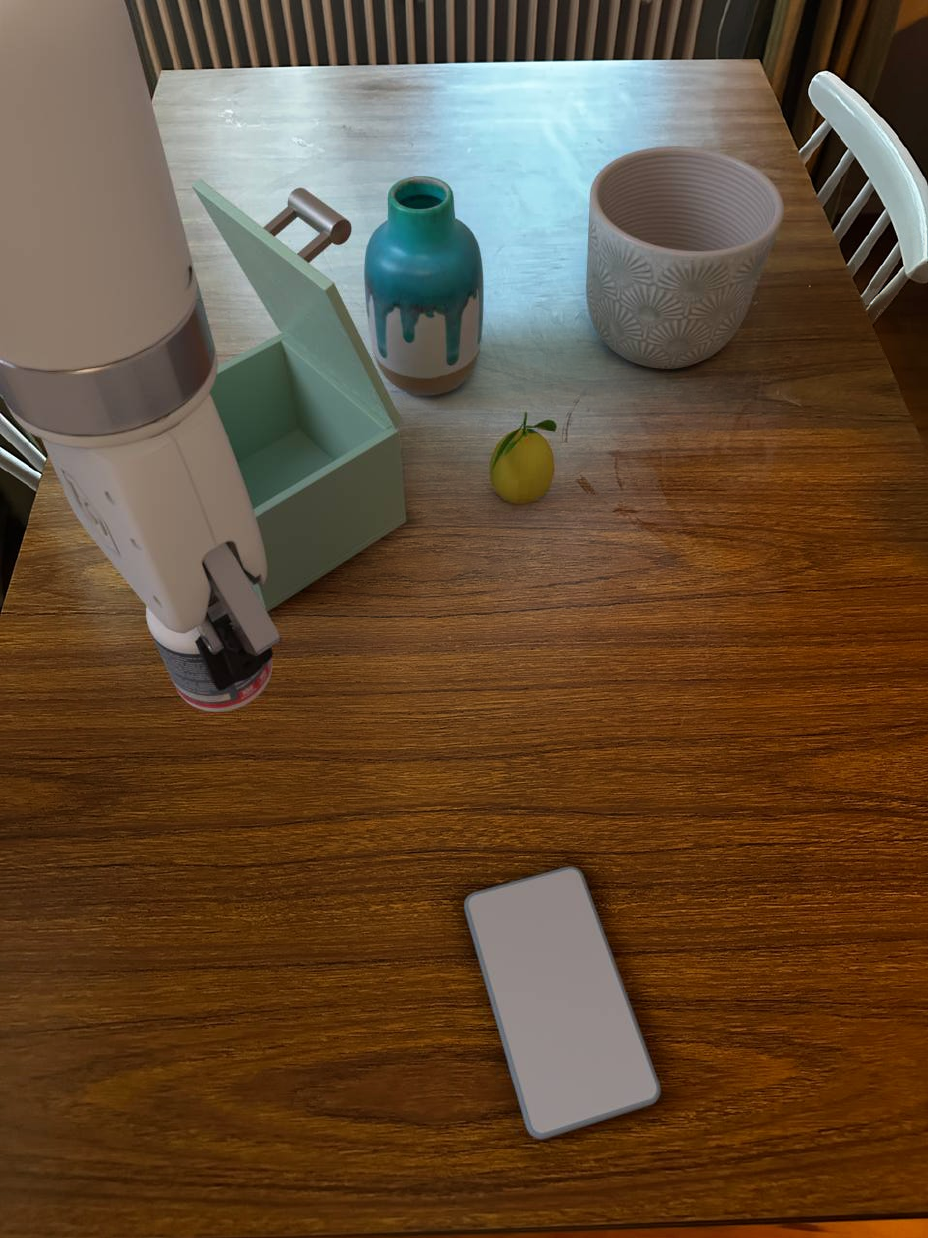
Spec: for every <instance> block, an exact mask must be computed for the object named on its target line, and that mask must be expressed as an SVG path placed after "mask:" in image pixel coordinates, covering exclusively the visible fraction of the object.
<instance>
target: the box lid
mask: <svg viewBox="0 0 928 1238" xmlns="http://www.w3.org/2000/svg"><path fill="white" fill-rule="evenodd" d="M191 187H192V189H193V190H194V192H195V194H196V196H197V197H198V199H199V200H200V202H201V204H202V206H203V208H204V209H205V211H206V212H207V214H208V216H209V217H210V219H211V220H212V222H213V224H214V225H215V227H216V229H217V230H218V232H219V233H220V235H221V237H222V238H223V240H224V242H225V244H226V245H227V247H228V249H229V250H230V252H231V254H232V256H233V257H234V258H235V261H236V262H237V263H238V265H239V267H240V269H241V270H242V272H243V273H244V275H245V276H246V278H247V280H248V282H249V283H250V285H251V287H252V288H253V290H254V292H255V293H256V295H257V296H258V298H259V300H260V301H261V303H262V305H263V306H264V308H265V310H266V311H267V313H268V314H269V315H268V316H270V318H271V320H272V321H273V323H274V325H275V326H276V328H277V329H278V331H279V332H280V333H283V334H284V335H285V336H286V337H287V338H289V339H290V340H291V341H292V342H293V343H295V344H296V345H297V346H298V347H299V348H300V349H302V350H303V351H304V352H305V353H306V354H308V355H309V356H310V357H311V358H312V359H313V360H315V361H316V362H317V363H318V364H319V365H321V366H322V367H323V368H324V369H325V370H326V371H328V372H329V373H330V374H331V375H332V376H334V377H335V378H336V379H337V380H338V381H339V382H341V383H342V384H343V385H344V386H345V387H347V388H348V389H349V390H350V391H351V392H352V393H354V394H355V395H356V396H357V397H358V398H359V399H361V400H362V401H363V402H364V403H365V404H367V405H368V406H369V407H370V408H371V409H372V410H374V411H375V412H376V413H377V414H378V415H380V416H381V417H382V418H383V419H384V420H385V421H387V422H388V423H389V424H390V425H391V426H393V427H394V428H395V429H396V428H397V429H398V428H399V427H400V426H401V425H402V424H403V420H402V418H401V416H400V414H399V412H398V410H397V407H396V406H395V404H394V402H393V399H392V398H391V396H390V394H389V392H388V390H387V387H386V386H385V384H384V382H383V380H382V377H381V376H380V374H379V371H378V369H377V368H376V365H375V363H374V362H373V359H372V357H371V355H370V353H369V351H368V349H367V347H366V345H365V343H364V341H363V339H362V336H361V335H360V333H359V331H358V328H357V327H356V324H355V322H354V320H353V318H352V316H351V315H350V313H349V311H348V308H347V307H346V305H345V303H344V299H343V298H342V296H341V294H340V292H339V290H338V288H337V285H336V283H335V282H334V281H332V280H331V279H330V278H328V277H327V276H326V275H324V273H322V272H321V271H320V270H318V269H317V268H316V267H315V266H313V265H312V264H311V262H312V261H313V260H314V259H316V258H317V257H318V256H319V255H320V254H322V253H323V252H324V251H325V250H326V249H327V248H328V247H329V246H331V245H332V244H333V245H335V246H341V245H343V244H345V243H346V242H347V241H348V240H349V239H350V237H351V235H352V229H353V228H352V223H351V222H350V220H349V219H348V218H346V217H344V216H343V215H342V214H341V213H339V212H338V211H336V210H335V209H333V208H332V207H330V206H329V205H328V204H327V203H325V202H324V201H322V200H321V199H320V198H318V197H317V196H315V195H314V194H313V193H311V192H310V191H309V190H307V189H306V188H304V187H297V188H294V189H293V190H292V191H291V192H290V194H289V195H288V198H287V207H285V208H284V209H283V210H282V211H281V212H279V213H278V214H277V215H276V216H274V217H273V218H272V219H271V220H270V221H268V222H267V224H265V225H264V226H262V225H260V224H259V223H258V222H257V221H255V220H254V219H253V218H251V217H250V216H249V215H248V214H246V213H245V212H244V211H242V210H241V208H238V207H237V206H236V205H234V204H233V202H230V201H229V200H228V199H227V198H226V197H224V196H223V195H221V193H220V192H218V191H217V190H215V188H213V187H212V186H210V185H209V184H208V183H207V182H205V181H203V180H202V179H201V178H198V179H197V180H195V181H194V182H193V183H192V184H191ZM297 218H298V219H300V220H301V221H303V222H304V223H305V224H307V225H308V226H309V227H310V228H312V229H313V230H314V231H316V232H317V233H319V234H318V235H316V236H315V237H314V238H313V239H312V240H311V241H310V242H308V244H306V245H305V246H304V247H303V248H302V249H301V250H300V251H298V252H295V251H293V249H291V248H290V247H289V246H288V245H286V244H285V243H284V242H282V241H281V240H280V239H278V238H277V237H276V236H278V235H279V234H280V233H281V232H282V231H283V230H284V229H286V228H287V227H288V226H289V225H290V224H291V223H293V221H295V220H296V219H297Z"/></svg>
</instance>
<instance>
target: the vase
mask: <svg viewBox="0 0 928 1238" xmlns="http://www.w3.org/2000/svg"><path fill="white" fill-rule="evenodd" d="M454 197H455V196H454V192H453V189H452V188H451V186H450V185H449V184H448V183H447V182H445V181H444V180H442V179H440V178H437V177H433V176H427V175H416V176H409V177H406V178H403V179H400V180H399V181H397V182H395V183H394V184H393V185H392V186H391V187H390V188H389V191H388V194H387V220H385V221H384V222H382V223H380V225H379V226H378V227H377V228H376V229H375V230H374V231H373V232H372V234H371V236H370V237H369V240H368V243H367V245H366V249H365V256H364V267H363V270H364V271H363V273H364V274H363V276H364V277H363V280H364V282H363V283H364V296H365V307H366V308H365V309H366V317H367V325H368V333H369V338H370V343H371V348H372V353H373V356H374V358H375V361H376V364H377V366H378V368H379V370H380V371H381V374H382V375H383V376H384V377H385V378H386V380H388V381H389V382H390V384H392V385H393V386H395V387H396V388H398V389H400V390H401V391H403V392H406V393H409V394H412V395H417V396H437V395H441V394H445V393H448V392H450V391H453V390H455V389H456V388H457V387H459V386H460V385H461V384H463V383H464V382H465V381H466V380H467V379H468V377H470V375H471V374H472V373H473V370H474V369H475V366H476V365H477V361H478V359H479V355H480V351H481V345H482V337H483V327H484V300H485V299H484V297H485V296H484V295H485V293H484V292H485V289H484V288H485V287H484V286H485V285H484V267H483V259H482V253H481V249H480V245H479V242H478V240H477V238H476V236H475V234H474V232H473V231H472V230H471V228H470V227H469V226H467V225H466V224H465V223H464V222H463V221H461V220H460V219H458V218H456V211H455V198H454Z"/></svg>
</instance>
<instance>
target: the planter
mask: <svg viewBox="0 0 928 1238" xmlns="http://www.w3.org/2000/svg"><path fill="white" fill-rule="evenodd" d="M784 214H785V204H784V200H783V197H782V195H781V193H780V191H779V189H778V188H777V186H776V184H775V183H774V182H773V181H772V180H771V179H770V178H769V177H768V176H767V175H766V174H764V173H763V172H762V171H760V169H758V168H757V167H755V166H753V165H752V164H750V163H748V162H746V161H744V160H742V159H740V158H737V157H735V156H732V155H730V154H726V153H723V152H720V151H716V150H712V149H708V148H704V147H703V148H702V147H695V146H683V145H681V146H680V145H679V146H678V145H670V146H668V145H667V146H656V147H648V148H644V149H643V148H642V149H639V150H635V151H633V152H629V153H628V154H624V155H622V156H620V157H617V158H615V159H614V160H612V161H610V162H609V163H608V164H607V165H605V166H604V167H603V168H602V169H601V170H600V171H599V172H598V173H597V175H596V176H595V177H594V179H593V181H592V183H591V187H590V190H589V203H588V230H587V255H586V280H585V281H586V282H585V288H586V289H585V292H586V293H585V294H586V304H587V308H588V313H589V317H590V319H591V322H592V325H593V327H594V329H595V331H596V333H597V335H598V336H599V337H600V339H601V340H602V342H603V343H605V345H607V347H609V349H611V350H612V352H614V353H616V354H617V355H618V356H620V357H622V358H623V359H625V360H627V361H629V362H631V363H634V364H636V365H639V366H643V367H647V368H653V369H661V370H663V369H664V370H668V369H680V368H686V367H689V366H692V365H695V364H698V363H700V362H703V361H705V360H707V359H708V358H710V357H712V356H713V355H715V354H716V353H718V352H719V351H721V350H722V348H723V347H725V346H726V345H727V344H728V343H729V341H730V340H731V339H732V338H733V337H734V335H735V334H736V332H737V331H738V330H739V328H740V327H741V325H742V323H743V321H744V319H745V318H746V315H747V313H748V311H749V309H750V305H751V304H752V303H751V302H752V300H753V297H754V295H755V292H756V290H757V287H758V284H759V281H760V280H761V277H762V274H763V272H764V269H765V266H766V264H767V261H768V259H769V257H770V253H771V250H772V249H773V245H774V243H775V240H776V238H777V235H778V233H779V230H780V228H781V225H782V222H783V219H784Z"/></svg>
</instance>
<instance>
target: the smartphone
mask: <svg viewBox="0 0 928 1238" xmlns="http://www.w3.org/2000/svg"><path fill="white" fill-rule="evenodd" d="M463 908H464V909H463V910H464V913H465V918H466V921H467V924H468V927H469V931H470V934H471V938H472V942H473V945H474V949H475V952H476V955H477V959H478V963H479V966H480V969H481V974H482V976H483V980H484V984H485V988H486V991H487V995H488V997H489V998H488V999H489V1002H490V1005H491V1009H492V1012H493V1015H494V1020H495V1022H496V1023H495V1024H496V1027H497V1029H498V1033H499V1036H500V1037H499V1038H500V1040H501V1044H502V1048H503V1051H504V1056H505V1058H506V1061H507V1065H508V1070H509V1073H510V1078H511V1080H512V1084H513V1086H514V1089H515V1093H516V1097H517V1100H518V1104H519V1108H520V1111H521V1114H522V1118H523V1123H524V1126H525V1128H526V1131H527V1132H528V1134H529V1135H530V1136H531V1137H533V1138H534V1139H536V1140H541V1141H542V1140H547V1139H550V1138H553V1137H557V1136H560V1135H562V1134H566V1133H569V1132H572V1131H574V1130H578V1129H582V1128H584V1127H588V1126H590V1125H593V1124H596V1123H600V1122H603V1121H606V1120H609V1119H612V1118H615V1117H618V1116H621V1115H625V1114H628V1113H631V1112H634V1111H637V1110H640V1109H644V1108H646V1107H650V1106H652V1105H654V1104H656V1102H657V1101H658V1100H659V1098H660V1096H661V1084H660V1081H659V1079H658V1076H657V1072H656V1071H655V1068H654V1065H653V1062H652V1061H653V1060H652V1059H651V1056H650V1054H649V1051H648V1048H647V1045H646V1042H645V1039H644V1037H643V1033H642V1031H641V1028H640V1026H639V1023H638V1021H637V1017H636V1015H635V1012H634V1010H633V1007H632V1004H631V1001H630V999H629V996H628V993H627V991H626V988H625V985H624V982H623V979H622V976H621V974H620V972H619V969H618V967H617V964H616V961H615V958H614V956H613V955H614V954H613V952H612V949H611V948H610V944H609V941H608V939H607V936H606V934H605V933H606V932H605V931H604V928H603V925H602V922H601V919H600V917H599V914H598V912H597V909H596V906H595V903H594V900H593V898H592V894H591V892H590V889H589V887H588V884H587V881H586V879H585V876H584V873H583V872H582V871H581V870H580V869H579V868H578V867H575V866H570V865H569V866H565V867H561V868H557V869H554V870H550V871H547V872H542V873H540V874H536V875H533V876H529V877H525V878H522V879H518V880H514V881H511V882H508V883H503V884H499V885H496V886H492V887H489V888H485V889H482V890H478V891H474V892H472V893H470V894H469V895H467V897H466V898H465V900H464V903H463Z"/></svg>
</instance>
